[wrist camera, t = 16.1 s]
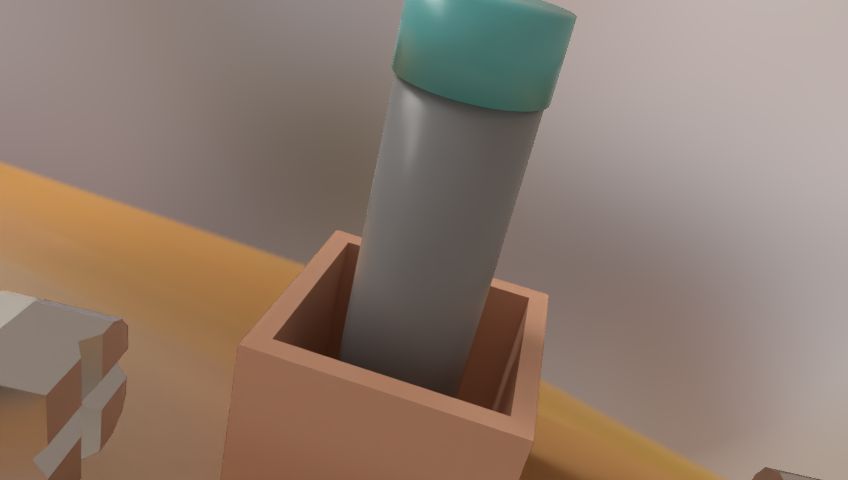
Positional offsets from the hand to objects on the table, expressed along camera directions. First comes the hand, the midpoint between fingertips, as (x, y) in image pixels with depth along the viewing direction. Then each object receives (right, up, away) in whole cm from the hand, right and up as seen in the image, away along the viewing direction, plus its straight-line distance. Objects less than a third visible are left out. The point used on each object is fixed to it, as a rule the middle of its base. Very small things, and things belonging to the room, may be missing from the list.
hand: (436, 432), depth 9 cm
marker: (-2, -4, +13) cm, 14 cm away
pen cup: (-2, -5, +13) cm, 14 cm away
